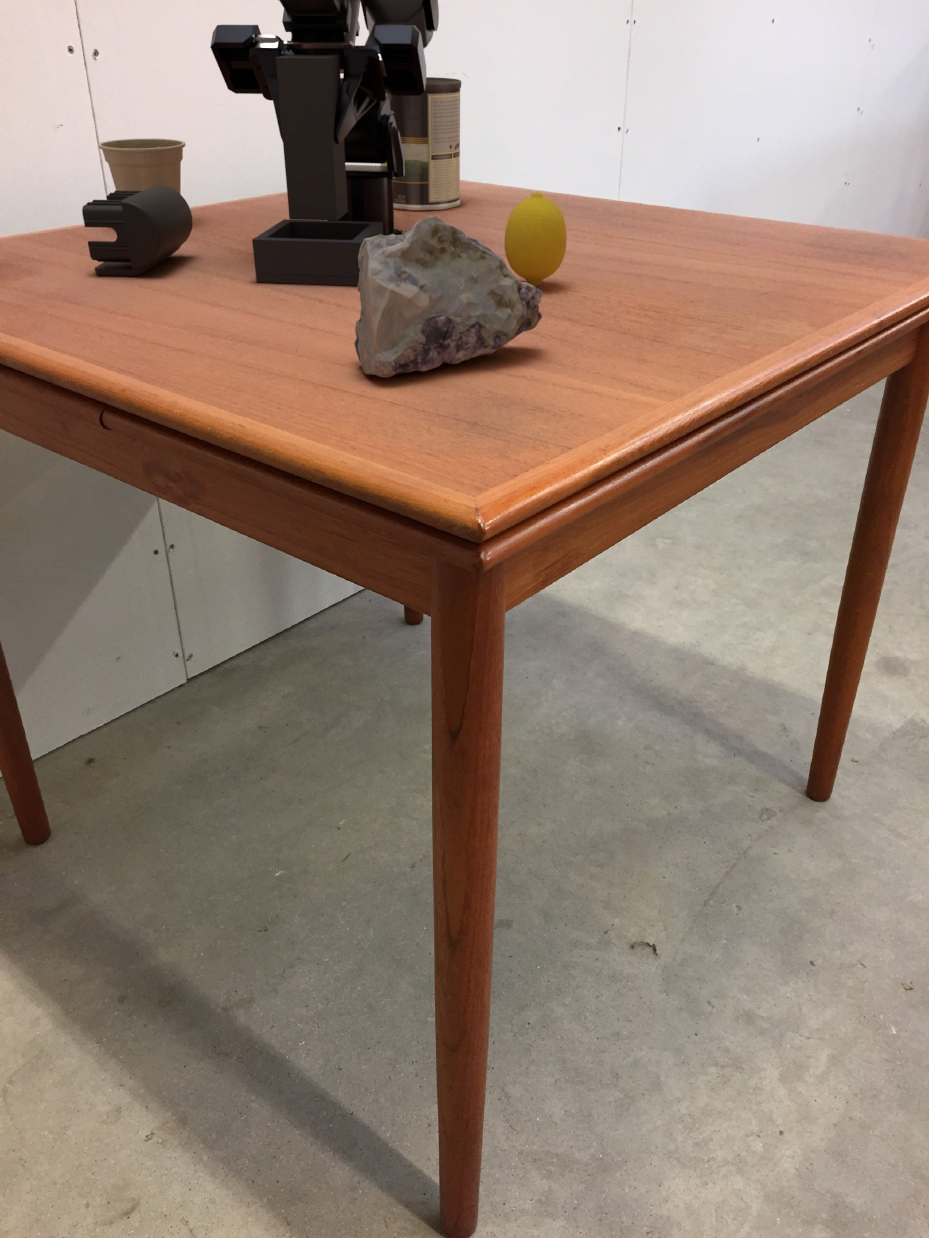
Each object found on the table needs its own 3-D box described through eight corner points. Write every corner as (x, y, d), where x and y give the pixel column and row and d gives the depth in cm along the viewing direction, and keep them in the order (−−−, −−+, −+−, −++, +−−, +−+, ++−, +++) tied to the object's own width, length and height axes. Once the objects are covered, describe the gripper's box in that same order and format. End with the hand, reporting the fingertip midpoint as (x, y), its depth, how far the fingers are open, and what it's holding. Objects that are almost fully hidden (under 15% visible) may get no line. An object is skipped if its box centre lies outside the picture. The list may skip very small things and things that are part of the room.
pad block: (301, 210, 96) (289, 54, 89) (348, 211, 95) (339, 55, 89) (289, 219, 92) (275, 57, 85) (337, 220, 92) (327, 58, 85)
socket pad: (287, 259, 101) (283, 219, 99) (384, 262, 100) (382, 222, 98) (256, 282, 93) (251, 239, 91) (362, 286, 92) (360, 242, 90)
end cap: (165, 278, 94) (154, 201, 90) (91, 277, 94) (77, 200, 91) (198, 255, 102) (188, 184, 99) (130, 254, 103) (118, 183, 99)
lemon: (570, 282, 93) (575, 189, 89) (555, 296, 89) (560, 199, 84) (513, 277, 95) (515, 186, 90) (495, 291, 90) (497, 195, 86)
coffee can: (388, 212, 124) (384, 83, 116) (375, 199, 132) (369, 77, 125) (470, 209, 126) (470, 82, 118) (451, 196, 134) (450, 76, 127)
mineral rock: (542, 346, 76) (548, 204, 71) (535, 392, 67) (541, 233, 61) (373, 340, 77) (367, 200, 72) (344, 385, 68) (334, 228, 63)
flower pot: (212, 222, 118) (203, 141, 113) (151, 236, 111) (138, 150, 107) (156, 214, 122) (144, 136, 118) (94, 227, 115) (79, 144, 111)
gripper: (202, -85, 86) (175, 71, 82) (418, -87, 84) (400, 73, 80) (241, 20, 96) (219, 161, 93) (433, 21, 95) (418, 165, 91)
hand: (309, 140), depth 89 cm, fingers closed on pad block, 4 cm apart
